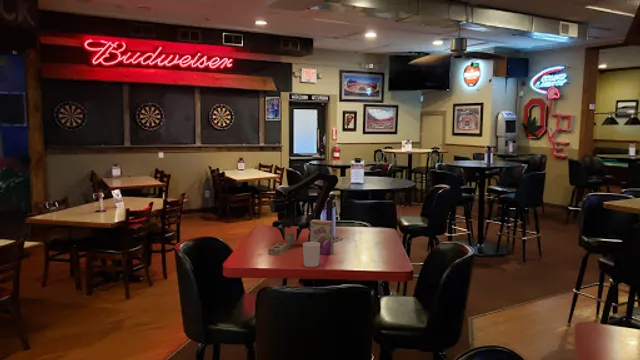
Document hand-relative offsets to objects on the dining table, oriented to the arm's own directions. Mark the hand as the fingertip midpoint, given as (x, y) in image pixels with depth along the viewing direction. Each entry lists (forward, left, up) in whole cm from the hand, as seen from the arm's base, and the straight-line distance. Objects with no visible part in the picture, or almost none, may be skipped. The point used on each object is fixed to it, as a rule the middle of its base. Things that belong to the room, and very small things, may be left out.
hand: (290, 240), depth 257 cm
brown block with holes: (+2, +14, -3) cm, 14 cm away
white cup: (-21, +33, -3) cm, 39 cm away
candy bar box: (-20, +11, -3) cm, 23 cm away
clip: (0, 0, -3) cm, 3 cm away
